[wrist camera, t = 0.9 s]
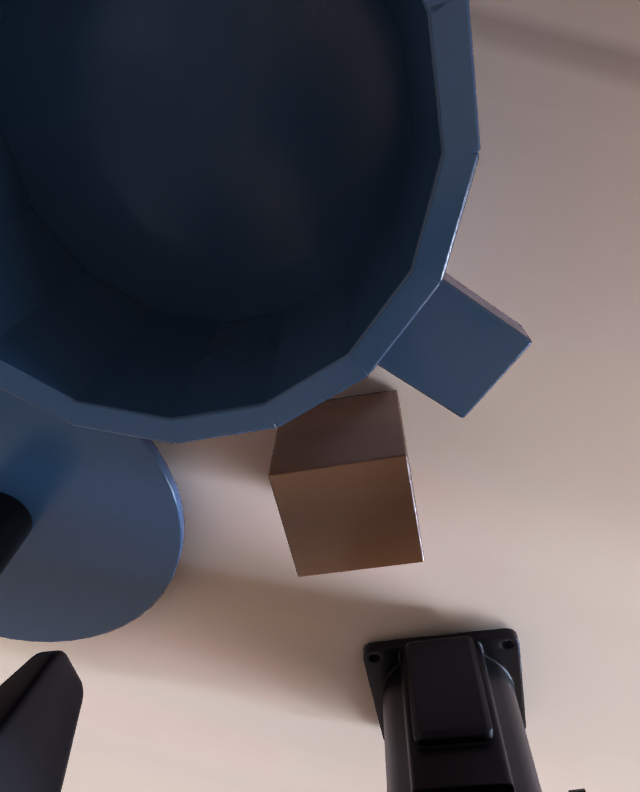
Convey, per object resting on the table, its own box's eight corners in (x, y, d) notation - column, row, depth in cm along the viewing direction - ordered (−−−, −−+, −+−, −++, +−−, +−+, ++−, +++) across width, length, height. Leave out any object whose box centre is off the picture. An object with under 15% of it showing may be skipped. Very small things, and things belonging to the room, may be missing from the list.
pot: (344, 439, 21) (343, 571, 16) (-168, 137, 17) (-421, 166, 12) (606, 117, 16) (745, 138, 10) (-36, -419, 12) (-372, -851, 6)
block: (412, 484, 22) (424, 562, 18) (306, 499, 23) (298, 578, 19) (397, 388, 20) (406, 454, 17) (281, 407, 21) (267, 475, 17)
